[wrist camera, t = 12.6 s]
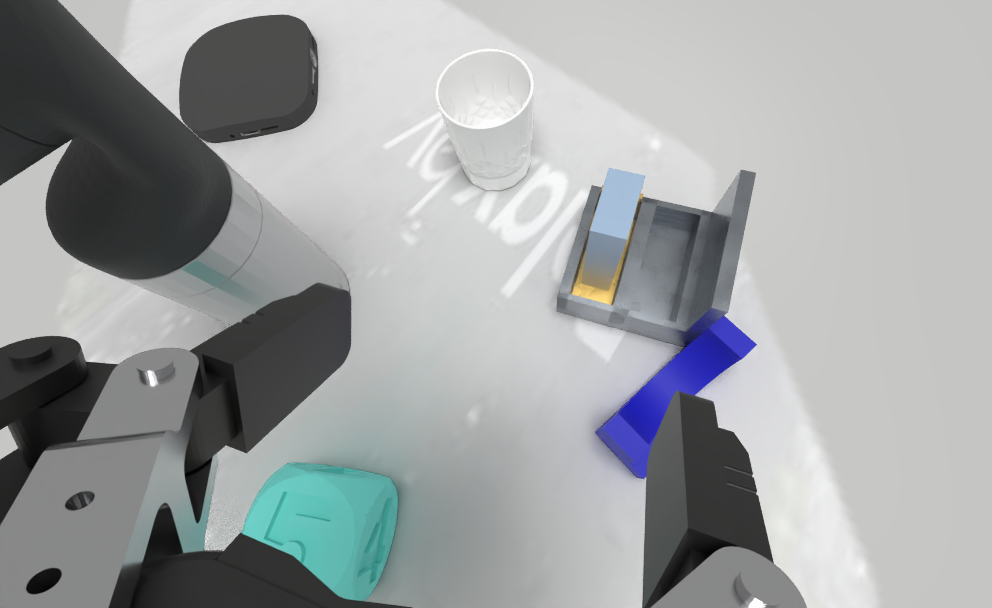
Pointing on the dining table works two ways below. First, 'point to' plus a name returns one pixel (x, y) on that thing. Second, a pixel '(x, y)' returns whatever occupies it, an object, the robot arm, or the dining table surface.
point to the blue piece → (671, 391)
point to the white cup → (489, 115)
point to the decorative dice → (329, 523)
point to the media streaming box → (249, 79)
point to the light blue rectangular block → (611, 227)
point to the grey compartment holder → (664, 267)
